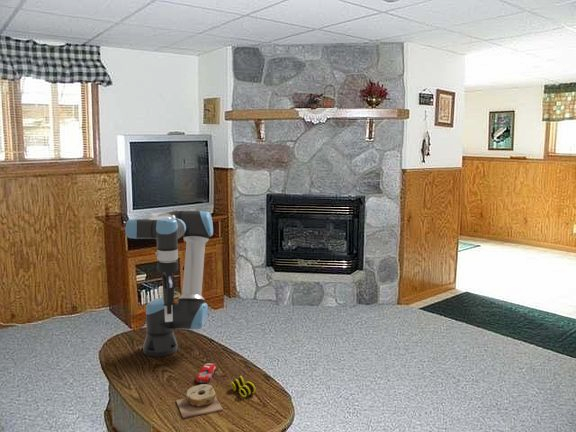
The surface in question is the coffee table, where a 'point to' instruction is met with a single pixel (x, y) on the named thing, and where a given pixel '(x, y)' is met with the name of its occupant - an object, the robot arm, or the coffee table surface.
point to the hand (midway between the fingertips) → (168, 321)
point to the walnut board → (197, 408)
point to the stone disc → (200, 395)
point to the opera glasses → (243, 387)
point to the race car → (206, 373)
